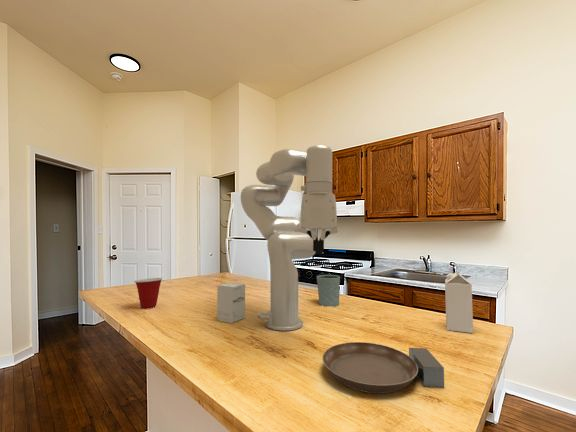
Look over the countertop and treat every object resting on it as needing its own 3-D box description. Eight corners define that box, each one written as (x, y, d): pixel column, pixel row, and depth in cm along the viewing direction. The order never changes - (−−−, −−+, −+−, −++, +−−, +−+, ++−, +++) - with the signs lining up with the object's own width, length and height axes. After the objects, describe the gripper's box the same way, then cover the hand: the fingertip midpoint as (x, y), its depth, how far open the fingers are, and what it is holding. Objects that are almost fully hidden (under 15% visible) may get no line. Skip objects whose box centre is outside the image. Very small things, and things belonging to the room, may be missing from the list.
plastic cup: (153, 302, 134) (153, 275, 134) (167, 306, 127) (167, 277, 128) (128, 307, 125) (129, 279, 126) (142, 312, 119) (142, 281, 119)
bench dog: (424, 386, 62) (423, 366, 62) (409, 364, 72) (408, 347, 72) (444, 387, 61) (443, 367, 61) (426, 365, 71) (426, 348, 71)
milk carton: (470, 326, 99) (468, 269, 100) (473, 333, 92) (471, 272, 93) (446, 324, 102) (444, 268, 103) (447, 330, 95) (445, 270, 96)
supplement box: (231, 323, 103) (232, 286, 104) (216, 320, 107) (216, 284, 108) (245, 318, 110) (245, 283, 110) (230, 315, 114) (230, 281, 114)
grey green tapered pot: (342, 307, 125) (341, 278, 125) (317, 307, 125) (317, 278, 125) (338, 301, 135) (338, 274, 135) (315, 301, 135) (315, 274, 136)
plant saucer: (441, 391, 60) (440, 374, 61) (348, 408, 55) (348, 390, 55) (382, 350, 80) (382, 338, 80) (310, 360, 75) (309, 347, 75)
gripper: (291, 188, 83) (290, 254, 83) (345, 188, 81) (345, 256, 80) (294, 191, 91) (294, 252, 90) (345, 191, 88) (344, 253, 88)
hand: (318, 253), depth 85 cm, fingers closed
